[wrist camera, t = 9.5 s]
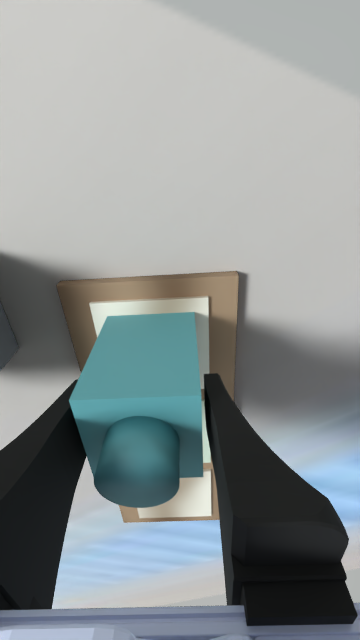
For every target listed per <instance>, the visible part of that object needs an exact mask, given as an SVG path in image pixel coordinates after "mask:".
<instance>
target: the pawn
mask: <svg viewBox="0 0 360 640" xmlns="http://www.w3.org/2000/svg"><path fill="white" fill-rule="evenodd" d="M69 402H70V406H71V409H72V412H73V415H74V418H75V421H76V424H77V427H78V430H79V433H80V436H81V439H82V443H83V446H84V449H85V452H86V455H87V458H88V461H89V464H90V467H91V470H92V473H93V476H94V485H95V487H96V489H97V491H98V492H99V493H100V494H101V495H102V496H103V497H104V498H106V499H107V500H109V501H111V502H113V503H116V504H118V505H122V506H126V507H133V508H148V507H154V506H158V505H161V504H163V503H166V502H167V501H169V500H170V499H172V498H173V497H174V496H175V495H176V493H177V492H178V490H179V486H180V478H194V477H204V476H203V439H202V401H201V385H200V373H199V361H198V349H197V337H196V325H195V313H194V312H182V313H161V314H141V315H120V316H107V318H106V320H105V322H104V324H103V327H102V329H101V331H100V333H99V335H98V338H97V340H96V342H95V344H94V346H93V349H92V351H91V353H90V355H89V357H88V359H87V362H86V364H85V366H84V368H83V370H82V373H81V375H80V377H79V379H78V381H77V384H76V386H75V388H74V390H73V392H72V395H71V397H70V399H69Z"/></svg>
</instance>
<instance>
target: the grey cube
mask: <svg viewBox="0 0 360 640" xmlns="http://www.w3.org/2000/svg"><path fill="white" fill-rule="evenodd" d="M18 349H19V347H18V344H17V342H16V339H15V337H14V334H13V332H12V329H11V327H10V324H9V322H8V319H7V317H6V314H5V312H4V309H3V307H2V304H1V302H0V371H1V370H2V368H3V367H4V366H5V365H6V363H7V362H8V361H9V360H10V359H11V357H12V356H13V355H14V354H15V353H16V351H17V350H18Z"/></svg>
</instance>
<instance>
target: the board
mask: <svg viewBox="0 0 360 640" xmlns="http://www.w3.org/2000/svg"><path fill="white" fill-rule="evenodd" d="M238 278H239V275H238V273H237V271H231V272H213V273H195V274H177V275H159V276H141V277H123V278H105V279H87V280H69V281H60V282H59V283H58V284H57V285H56V286H57V290H58V293H59V297H60V300H61V304H62V307H63V311H64V314H65V318H66V321H67V325H68V328H69V332H70V335H71V339H72V342H73V346H74V349H75V353H76V356H77V360H78V363H79V367H80V371H81V373H82V370H83V368H84V366H85V364H86V362H87V359H88V357H89V355H90V353H91V351H92V349H93V346H94V344H95V342H96V340H97V338H98V335H99V333H100V331H101V329H102V327H103V324H104V322H105V320H106V318H107V316H120V315H141V314H161V313H182V312H194V313H195V325H196V337H197V349H198V361H199V373H200V385H201V401H202V439H203V476H204V477H194V478H180V486H179V490H178V492H177V493H176V495H175V496H174V497H173V498H172V499H170V500H169V501H167V502H166V503H163V504H161V505H158V506H154V507H148V508H133V507H126V506H122V505H119V507H120V511H121V514H122V518H123V521H124V523H127V522H160V521H194V520H220V519H219V508H218V497H217V487H216V480H215V474H214V469H213V463H212V458H211V452H210V447H209V442H208V436H207V430H206V420H205V406H204V374H213V373H218V374H219V375H220V377H221V379H222V382H223V384H224V386H225V388H226V390H227V391H228V393H229V395H230V397H231V398H232V400H233V401H234V379H235V354H236V329H237V303H238Z"/></svg>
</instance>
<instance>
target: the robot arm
mask: <svg viewBox="0 0 360 640" xmlns="http://www.w3.org/2000/svg"><path fill="white" fill-rule="evenodd" d="M77 381H78V380H75V381H74V382H73V383H72V384H71V385H70V386H69V387H68V388H67V389H66V390H65V391H64V392H63V394H62V395H61V396H60V397H59V398H58V399H57V400H56V401H55V402H54V403H53V404H52V405H51V406H50V407H49V408H48V409H47V410H46V411H45V412H44V413H43V414H42V415H41V416H40V417H39V418H38V419H37V420H36V421H35V422H33V423H32V424H31V425H30V426H29V427H28V428H27V429H26V430H25V431H24V432H23V433H21V434H20V435H19V436H18V437H17V438H16V439H14V440H13V441H12V442H11V443H9V444H8V445H7V446H6V447H4V448H3V449H2V450H1V451H0V640H360V603H353V601H352V599H351V596H350V593H349V591H348V588H347V586H346V583H345V580H346V579H347V577H346V573H345V571H344V568H343V566H342V563H341V559H342V557H343V555H344V552H345V550H346V548H347V545H348V541H349V538H348V536H347V533H346V530H345V528H344V526H343V524H342V522H341V520H340V518H339V516H338V514H337V513H336V511H335V509H334V508H333V506H332V504H331V503H330V501H329V500H328V498H327V497H325V496H324V495H323V494H321V493H320V492H319V491H317V490H316V489H315V488H313V487H312V486H311V485H310V484H308V483H307V482H306V481H305V480H304V479H302V478H301V477H300V476H299V475H298V474H297V473H295V472H294V471H293V470H292V469H291V468H290V467H289V466H288V465H287V464H286V463H285V462H284V461H282V460H281V459H280V458H279V457H278V456H277V455H276V454H275V453H274V452H273V451H272V450H271V449H270V448H269V447H268V446H267V444H266V443H265V442H264V441H263V440H262V439H261V438H260V437H259V435H258V434H257V433H256V432H255V431H254V429H253V428H252V427H251V426H250V424H249V423H248V422H247V420H246V419H245V418H244V416H243V415H242V414H241V412H240V411H239V409H238V408H237V406H236V405H235V403H234V401H233V400H232V398H231V397H230V395H229V393H228V391H227V390H226V388H225V386H224V384H223V382H222V379H221V377H220V375H219V374H218V373H213V374H204V406H205V420H206V430H207V436H208V442H209V447H210V452H211V458H212V463H213V469H214V474H215V480H216V487H217V497H218V508H219V519H220V529H221V540H222V552H223V563H224V575H225V586H226V598H227V606H184V607H136V608H88V609H52V603H53V597H54V591H55V585H56V579H57V573H58V568H59V563H60V557H61V552H62V547H63V542H64V537H65V532H66V528H67V523H68V518H69V514H70V510H71V505H72V501H73V497H74V493H75V489H76V486H77V482H78V479H79V477H80V474H81V471H82V468H83V465H84V462H85V459H86V456H87V455H86V452H85V449H84V446H83V443H82V439H81V436H80V433H79V430H78V427H77V424H76V421H75V418H74V415H73V412H72V409H71V406H70V402H69V399H70V397H71V395H72V392H73V390H74V388H75V386H76V384H77Z"/></svg>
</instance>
